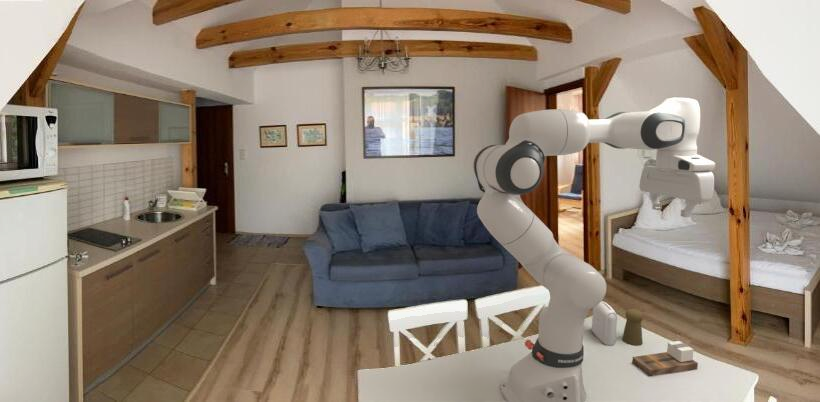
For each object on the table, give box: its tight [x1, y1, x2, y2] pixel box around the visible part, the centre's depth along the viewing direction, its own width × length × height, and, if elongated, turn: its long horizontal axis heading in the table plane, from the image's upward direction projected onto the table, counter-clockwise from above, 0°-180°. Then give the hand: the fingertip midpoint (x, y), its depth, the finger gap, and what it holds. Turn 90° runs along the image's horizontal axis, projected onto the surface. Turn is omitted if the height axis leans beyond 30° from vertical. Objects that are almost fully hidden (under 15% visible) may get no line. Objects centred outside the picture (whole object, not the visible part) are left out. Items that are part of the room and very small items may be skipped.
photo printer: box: [591, 300, 618, 346], centre depth 136 cm, size 10×4×12 cm, turn 1°
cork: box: [621, 308, 644, 347], centre depth 134 cm, size 6×6×11 cm
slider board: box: [632, 351, 699, 377], centre depth 121 cm, size 16×7×2 cm, turn 101°
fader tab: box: [666, 340, 694, 362], centre depth 121 cm, size 4×5×4 cm
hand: (670, 213), depth 108 cm, fingers open, 8 cm apart
